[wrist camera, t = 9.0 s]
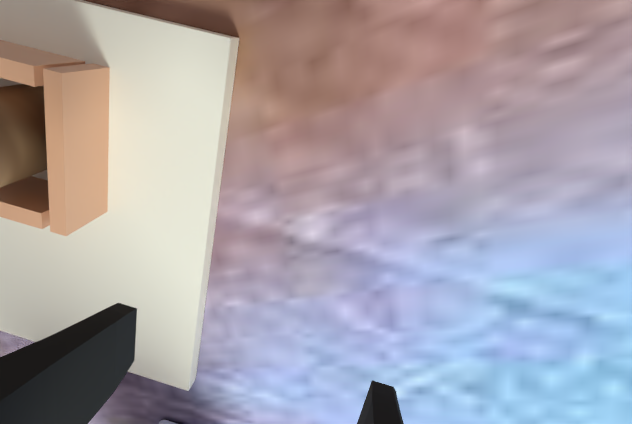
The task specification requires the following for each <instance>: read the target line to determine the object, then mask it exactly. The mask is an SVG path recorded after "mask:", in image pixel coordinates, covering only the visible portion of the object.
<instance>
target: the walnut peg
mask: <svg viewBox="0 0 632 424" xmlns="http://www.w3.org/2000/svg"><path fill="white" fill-rule="evenodd" d="M45 170H47V149H46V127H45V105H44V86H37V87H33V86H30V85H26V84H19V85H11V86H4V87H0V188H1V187H3V186H6V185H8V184H11V183H14V182H16V181H19V180H21V179H24V178H27V177H29V176H32V175H35V174H37V173H40V172H42V171H45Z"/></svg>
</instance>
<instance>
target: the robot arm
mask: <svg viewBox="0 0 632 424" xmlns="http://www.w3.org/2000/svg"><path fill="white" fill-rule="evenodd" d="M136 319H137V308H134V307H131V306H127V305H124V304H121V303H117V304H114V305H112V306H110V307H108V308H106V309H104V310H102V311H100V312H98V313H96V314H94V315H92V316H90V317H88V318H86V319H84V320H82V321H80V322H78V323H76V324H74V325H72V326H70V327H67V328H65V329H63V330H61V331H59V332H57V333H55V334H53V335H51V336H49V337H47V338H44V339H42V340H40V341H37V342H35V343H33V344H30V345H28V346H26V347H24V348H21V349H19V350H17V351H14V352H12V353H10V354H7V355H5V356H2V357H0V424H88V423H89V421H90V420H91V419H92V418H93V417H94V415H95V414H96V413H97V412H98V411H99V409H100V408H101V407H102V406H103V405H104V403H105V402H106V401H107V400H108V399H109V397H110V396H111V395H112V394H113V392H114V391H115V390H116V388H117V387H118V385H119V384H120V382H121V381H122V379H123V378H124V376H125V375H126V373H127V371H128V370H129V368H130V367H131V365H132V364H133V362H134V358H135V339H136ZM158 424H177V423H174V422H171V421H168V420H161V421H160V422H159V423H158ZM357 424H403V420H402V416H401V413H400V408H399V404H398V400H397V395H396V391H395V389H394V387H392V386H388V385H385V384H382V383H379V382H375V381H372V382H371V385H370V388H369V391H368V394H367V397H366V400H365V402H364V405H363V408H362V411H361V414H360V417H359V420H358V422H357Z"/></svg>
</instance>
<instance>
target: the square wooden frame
mask: <svg viewBox="0 0 632 424" xmlns="http://www.w3.org/2000/svg"><path fill="white" fill-rule="evenodd" d="M0 78H3V79H7V80H11V81H14V82H18V83H22V84H26V85H30V86H33V87H37V86H44V105H45V127H46V149H47V172H48V180H44V179H41V178H37V177H34V176H29V177H27V178H24V179H21V180H19V181H16V182H14V183H11V184H8V185H6V186H3V187H1V188H0V217H2V218H6V219H9V220H12V221H16V222H19V223H23V224H26V225H29V226H33V227H36V228H40V229H44V228H45V227H47V226H49V225H50V232H53V233H57V234H60V235H63V236H68V235H69V234H71V233H73V232H74V231H76V230H78V229H79V228H81V227H83V226H84V225H86V224H88V223H89V222H91V221H93V220H94V219H96V218H98V217H99V216H101V215H103V214H104V213H106V212H108V147H109V81H110V67H106V66H102V65H98V64H94V63H91V64H85V61H82V60H78V59H74V58H71V57H67V56H63V55H59V54H55V53H51V52H47V51H43V50H39V49H35V48H31V47H27V46H23V45H19V44H15V43H11V42H8V41H4V40H0Z"/></svg>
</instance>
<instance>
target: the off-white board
mask: <svg viewBox="0 0 632 424" xmlns="http://www.w3.org/2000/svg"><path fill="white" fill-rule="evenodd" d="M0 40H4V41H8V42H11V43H15V44H19V45H23V46H27V47H31V48H35V49H39V50H43V51H47V52H51V53H55V54H59V55H63V56H67V57H71V58H74V59H78V60H82V61H85V64H91V63H94V64H98V65H102V66H106V67H110V81H109V147H108V212H106V213H104V214H103V215H101V216H99V217H98V218H96V219H94V220H93V221H91V222H89V223H88V224H86V225H84V226H83V227H81V228H79V229H78V230H76V231H74V232H73V233H71V234H69V235H68V236H63V235H60V234H57V233H53V232H50V225H49V226H47V227H45V228H44V229H40V228H36V227H33V226H29V225H26V224H23V223H19V222H16V221H12V220H9V219H6V218H2V217H0V331H3V332H6V333H9V334H12V335H15V336H18V337H21V338H25V339H28V340H31V341H34V342H37V341H40V340H42V339H44V338H47V337H49V336H51V335H53V334H55V333H57V332H59V331H61V330H63V329H65V328H67V327H70V326H72V325H74V324H76V323H78V322H80V321H82V320H84V319H86V318H88V317H90V316H92V315H94V314H96V313H98V312H100V311H102V310H104V309H106V308H108V307H110V306H112V305H114V304H117V303H121V304H124V305H127V306H131V307H134V308H137V319H136V339H135V358H134V362H133V364H132V365H131V367H130V368H129V370H128V371H127V372H130V373H133V374H137V375H140V376H143V377H146V378H149V379H152V380H155V381H158V382H161V383H165V384H168V385H171V386H174V387H177V388H180V389H183V390H186V391H189V389H190V388H191V386H192V384H193V383H194V381H195V379H196V373H197V365H198V357H199V349H200V342H201V334H202V326H203V318H204V310H205V303H206V295H207V287H208V279H209V271H210V264H211V256H212V248H213V240H214V232H215V225H216V217H217V209H218V201H219V193H220V186H221V178H222V170H223V162H224V154H225V147H226V139H227V131H228V123H229V115H230V107H231V100H232V92H233V84H234V76H235V68H236V61H237V53H238V45H239V38H237V37H233V36H229V35H225V34H221V33H217V32H212V31H208V30H204V29H200V28H196V27H192V26H187V25H183V24H179V23H175V22H171V21H167V20H162V19H158V18H154V17H150V16H146V15H142V14H137V13H133V12H129V11H125V10H121V9H117V8H112V7H108V6H104V5H100V4H96V3H92V2H87V1H83V0H0ZM19 84H22V83H18V82H14V81H11V80H7V79H3V78H0V87H4V86H11V85H19ZM32 176H34V177H37V178H41V179H44V180H48V172H47V170H45V171H42V172H40V173H37V174H35V175H32Z"/></svg>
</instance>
